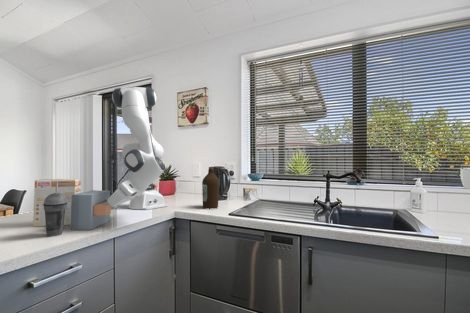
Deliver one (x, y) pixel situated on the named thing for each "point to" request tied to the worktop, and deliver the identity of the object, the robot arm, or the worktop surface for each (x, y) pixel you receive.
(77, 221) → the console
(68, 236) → the worktop surface
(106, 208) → the terracotta button
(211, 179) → the olive oil
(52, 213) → the beverage cup
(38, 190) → the coffeecake box
